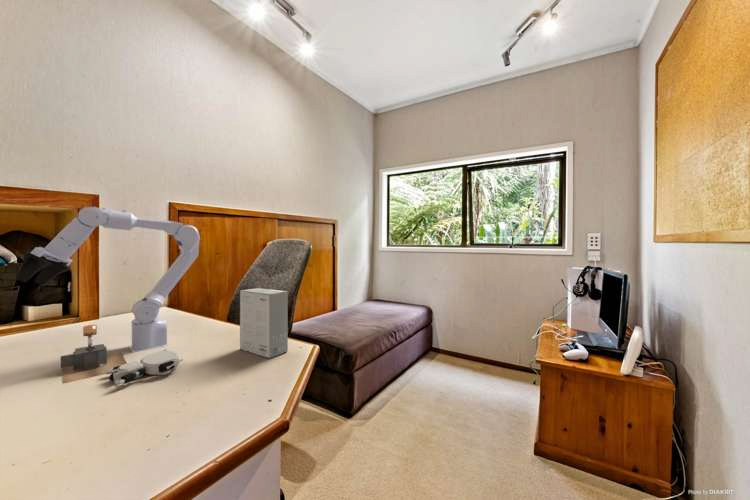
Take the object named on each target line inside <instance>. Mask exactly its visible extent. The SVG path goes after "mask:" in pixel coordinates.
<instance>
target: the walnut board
mask: <svg viewBox="0 0 750 500" xmlns="http://www.w3.org/2000/svg"><path fill="white" fill-rule="evenodd" d="M123 364H127V361H126V358H125V357H124V355H123V353H122V351H117V352H113V353H107V363H106V364H105V365H103V366H101V367H98V368H95V369H90V370H84V371H75V370H73V366H69V367H64V368H61V369H62V371H61V372H62V374H61V375H62V384H63V385H64V384H68V383H73V382H76V381H82V380H85V379H89V378H93V377H94V378H95V377H99V376H102V375H107V374H106V373H105V372H106V371H107V370H110V369H113V368H114V367H117V366H121V365H123Z"/></svg>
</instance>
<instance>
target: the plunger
mask: <svg viewBox="0 0 750 500" xmlns="http://www.w3.org/2000/svg"><path fill="white" fill-rule="evenodd" d="M97 326H98V325H97V324H89V325H84V326H82V336H83V337H87V347H88V350H91V349H92V346H93V336H95V335H97V333H98V331H97Z"/></svg>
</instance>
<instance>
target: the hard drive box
mask: <svg viewBox="0 0 750 500" xmlns="http://www.w3.org/2000/svg"><path fill="white" fill-rule="evenodd" d="M288 292H289V291H287V290H280V289H278V290H277V289H271V288H262V287H260V288H259V287H256V288H250V289H249V288H248V289H241V290H239V346H240V347H239V349H240V350H241V349H242V350H243V351H244V352H247V351H249V352H248V353H251V354H255V355H258V356H261V357H264V358H266V359H267V358H268V359H271V358H274V357H276V356H279V355H282V354H284V352H285V353H288V351H289V350H288V345H289V339H288V337H289V336H288V333H289V332H288V329H289V327H288V326H289V325H288V320H289V319H288V318H289V317H288V315H289V313H288V311H289V310H288V305H289V303H288V301H289V300H288V299H289V298H288V297H289V296H288V295H289V294H288ZM242 350H241V351H242Z"/></svg>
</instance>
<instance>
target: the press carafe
mask: <svg viewBox="0 0 750 500" xmlns="http://www.w3.org/2000/svg"><path fill="white" fill-rule="evenodd" d="M107 350H108V349H107V345H106V346H105V345H104V343H100V344H95V345H92V349H91V350H88V346H82V347H77V348H74V351H73V352H72V354H64V355H60V369H62V368H64V367H69V366H73V370H75V371H84V370H90V369H95V368H98V367H101V366H103V365H105V364H106V363H107V354H108V352H107Z"/></svg>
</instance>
